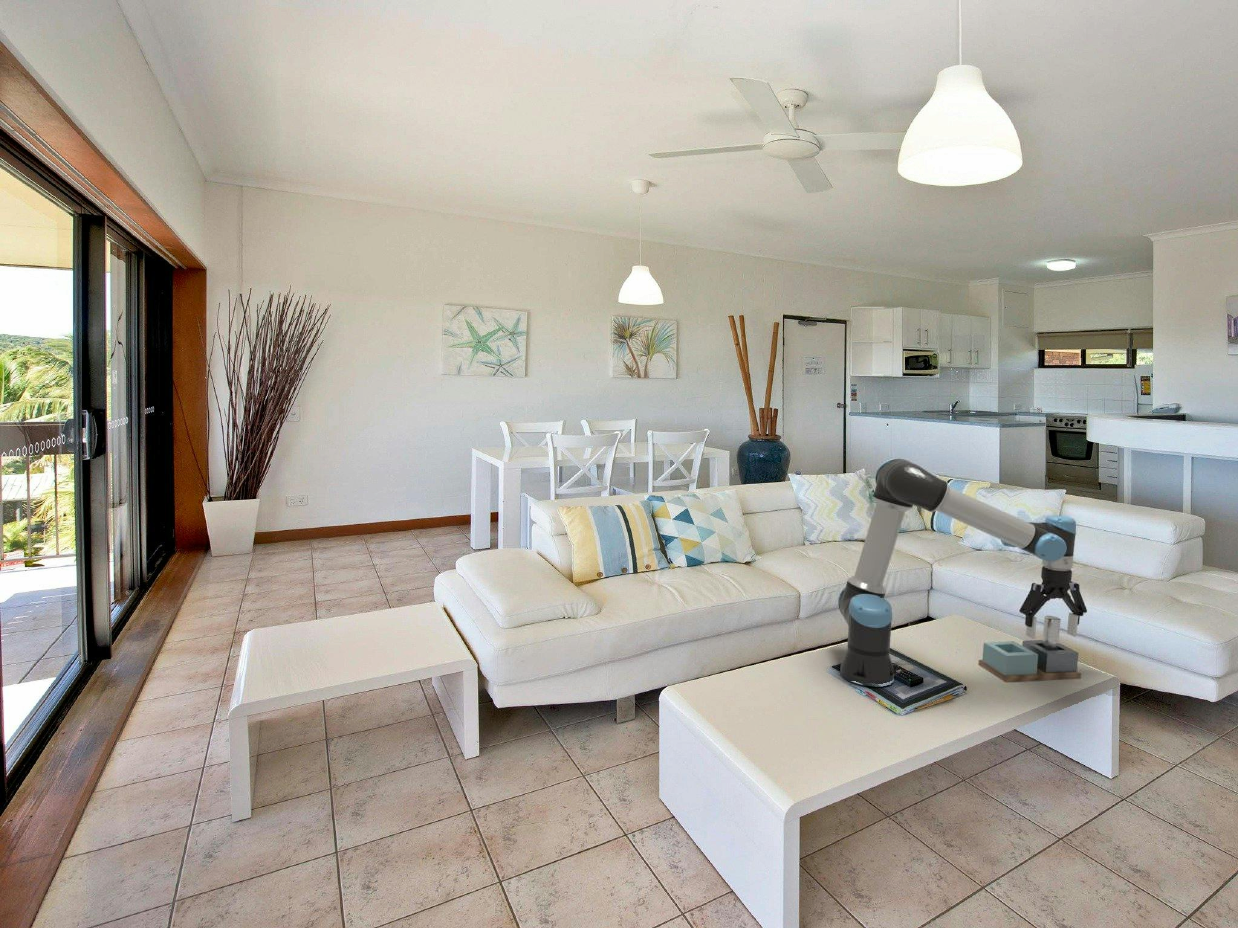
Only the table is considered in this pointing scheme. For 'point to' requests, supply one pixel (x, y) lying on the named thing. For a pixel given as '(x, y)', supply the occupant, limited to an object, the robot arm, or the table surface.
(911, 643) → the table surface
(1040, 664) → the socket block
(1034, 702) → the table surface
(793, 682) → the table surface
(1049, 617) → the translucent peg
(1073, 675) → the tool board
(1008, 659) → the teal square holder
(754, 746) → the table surface
